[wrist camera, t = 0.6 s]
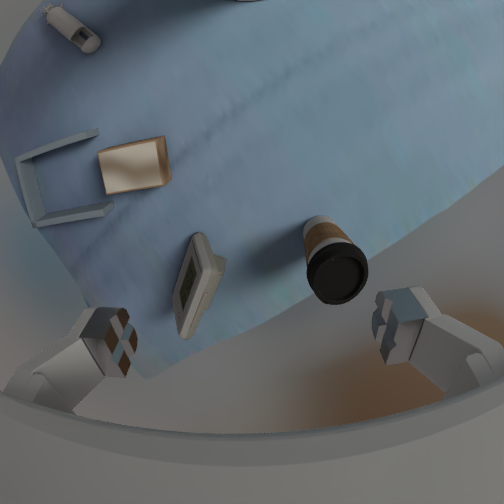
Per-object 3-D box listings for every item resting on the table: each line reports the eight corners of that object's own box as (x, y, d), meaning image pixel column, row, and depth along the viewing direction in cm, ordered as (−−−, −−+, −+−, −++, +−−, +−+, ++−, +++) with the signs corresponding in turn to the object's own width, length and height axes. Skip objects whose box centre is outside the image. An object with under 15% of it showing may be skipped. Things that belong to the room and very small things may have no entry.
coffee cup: (286, 240, 50) (296, 293, 37) (312, 199, 46) (335, 240, 33) (325, 260, 52) (346, 315, 39) (352, 222, 48) (385, 268, 35)
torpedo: (110, 38, 33) (91, 31, 27) (92, 60, 35) (71, 57, 29) (58, -2, 27) (38, -8, 21) (43, 18, 29) (22, 14, 23)
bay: (27, 152, 41) (14, 157, 38) (98, 128, 40) (86, 131, 37) (44, 219, 48) (33, 228, 44) (114, 207, 47) (104, 216, 44)
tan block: (111, 146, 42) (96, 152, 37) (167, 134, 41) (156, 138, 37) (119, 185, 45) (105, 195, 41) (173, 177, 45) (164, 186, 40)
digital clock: (199, 224, 49) (186, 255, 39) (244, 251, 51) (241, 287, 42) (159, 288, 55) (144, 325, 46) (199, 310, 58) (190, 349, 48)
